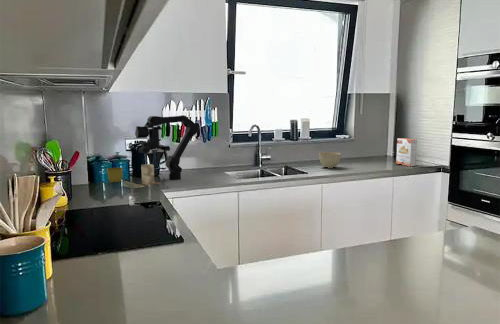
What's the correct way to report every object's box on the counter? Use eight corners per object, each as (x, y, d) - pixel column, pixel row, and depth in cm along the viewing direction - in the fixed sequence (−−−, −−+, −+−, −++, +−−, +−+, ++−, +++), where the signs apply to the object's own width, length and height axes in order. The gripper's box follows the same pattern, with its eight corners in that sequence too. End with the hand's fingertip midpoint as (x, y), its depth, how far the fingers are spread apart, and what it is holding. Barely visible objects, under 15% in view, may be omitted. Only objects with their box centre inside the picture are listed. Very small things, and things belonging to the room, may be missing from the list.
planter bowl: (341, 169, 282) (341, 154, 280) (318, 169, 285) (318, 154, 283) (340, 166, 297) (340, 152, 296) (319, 165, 300) (319, 151, 299)
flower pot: (107, 182, 236) (106, 168, 234) (122, 181, 239) (122, 167, 238) (107, 185, 228) (106, 170, 226) (123, 184, 231) (122, 169, 229)
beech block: (149, 182, 227) (148, 164, 226) (154, 183, 224) (153, 164, 222) (141, 183, 224) (141, 164, 222) (146, 184, 220) (146, 165, 219)
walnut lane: (152, 183, 232) (152, 177, 232) (162, 185, 226) (162, 178, 225) (123, 188, 218) (123, 181, 217) (133, 191, 211) (133, 183, 211)
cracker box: (395, 164, 303) (396, 138, 300) (401, 164, 306) (402, 137, 303) (409, 167, 291) (411, 139, 288) (415, 166, 293) (417, 139, 290)
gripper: (159, 136, 240) (160, 161, 242) (132, 137, 226) (133, 164, 229) (170, 136, 233) (171, 162, 235) (143, 138, 219) (144, 166, 221)
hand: (155, 163), depth 230 cm, fingers open, 4 cm apart
